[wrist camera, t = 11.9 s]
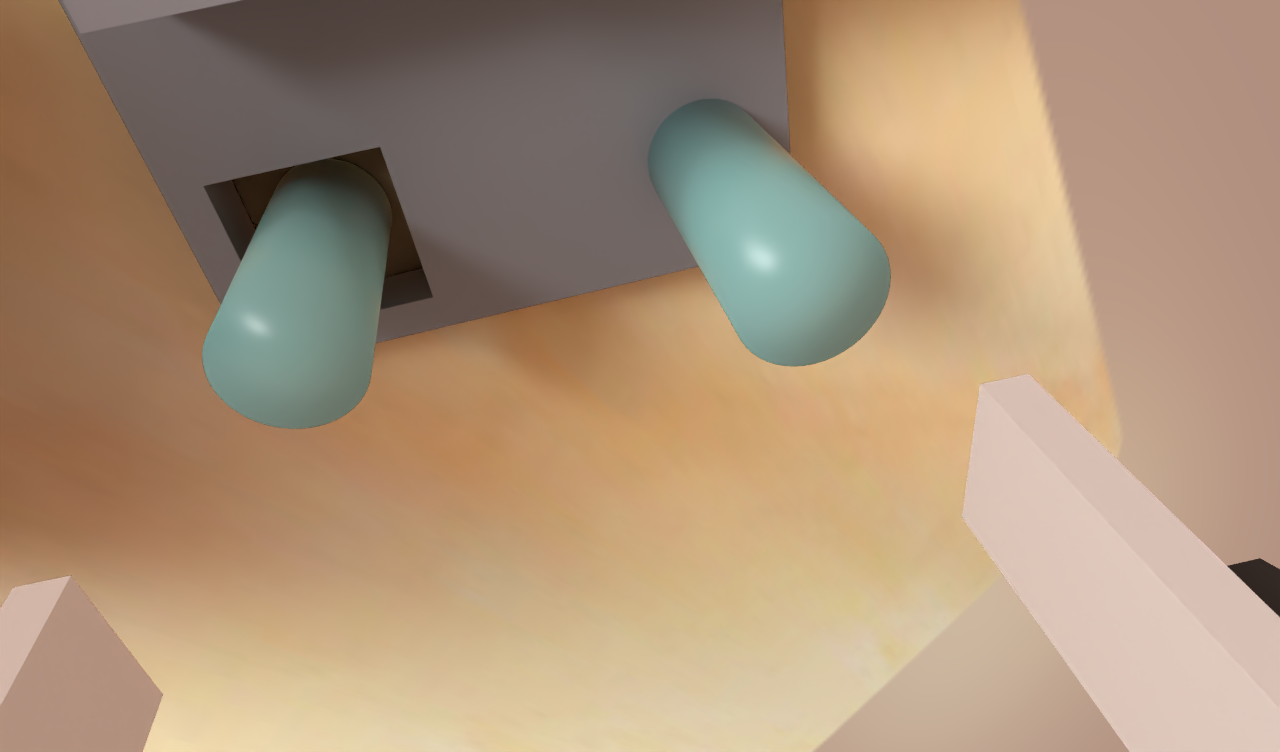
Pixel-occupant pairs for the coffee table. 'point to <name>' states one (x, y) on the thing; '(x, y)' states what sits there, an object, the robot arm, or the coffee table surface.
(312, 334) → the peg
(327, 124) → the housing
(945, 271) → the coffee table surface
